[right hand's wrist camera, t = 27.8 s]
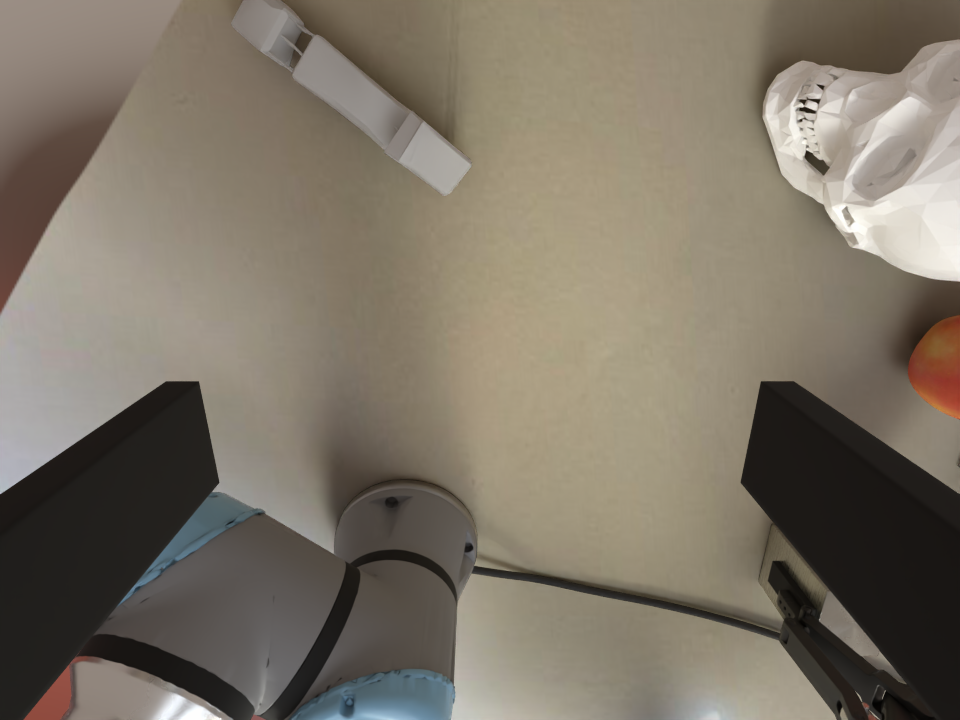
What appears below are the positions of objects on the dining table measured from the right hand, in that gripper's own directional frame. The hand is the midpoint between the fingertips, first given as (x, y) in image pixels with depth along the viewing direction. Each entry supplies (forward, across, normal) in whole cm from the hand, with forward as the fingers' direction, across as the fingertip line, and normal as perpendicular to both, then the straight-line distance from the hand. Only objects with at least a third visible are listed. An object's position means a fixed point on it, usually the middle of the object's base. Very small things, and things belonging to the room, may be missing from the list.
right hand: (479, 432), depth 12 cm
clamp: (+36, -10, +11) cm, 39 cm away
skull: (+36, +32, +7) cm, 49 cm away
